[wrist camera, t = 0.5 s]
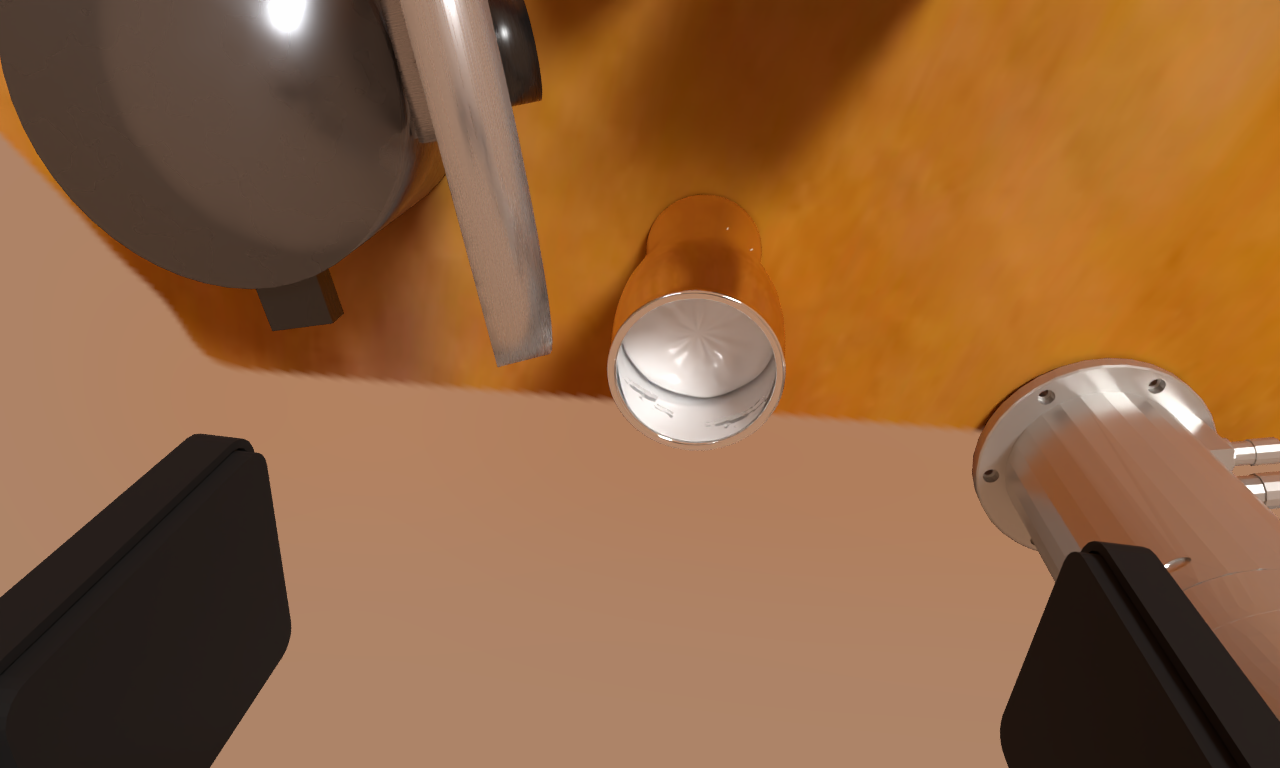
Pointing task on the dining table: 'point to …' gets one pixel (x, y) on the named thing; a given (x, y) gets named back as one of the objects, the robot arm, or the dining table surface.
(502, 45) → the lid
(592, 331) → the dining table surface
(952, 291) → the dining table surface
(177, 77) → the cooker pot
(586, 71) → the dining table surface
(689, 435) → the beer glass
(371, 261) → the dining table surface
